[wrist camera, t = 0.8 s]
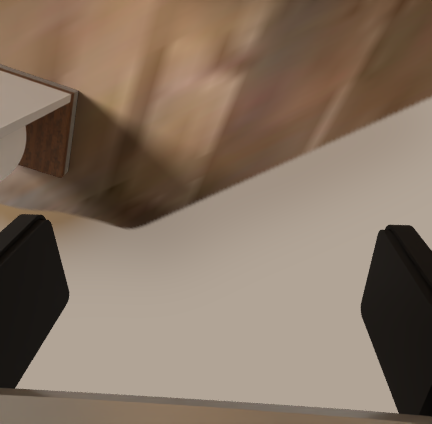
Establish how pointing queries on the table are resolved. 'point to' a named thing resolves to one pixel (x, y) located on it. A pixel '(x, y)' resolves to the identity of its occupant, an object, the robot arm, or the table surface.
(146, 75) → the table surface
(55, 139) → the display case
